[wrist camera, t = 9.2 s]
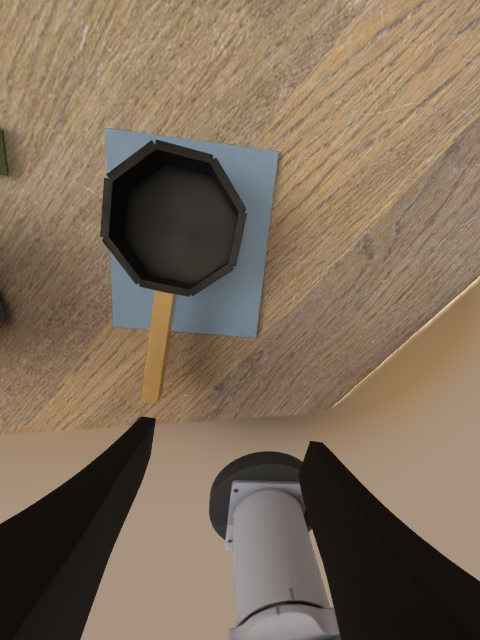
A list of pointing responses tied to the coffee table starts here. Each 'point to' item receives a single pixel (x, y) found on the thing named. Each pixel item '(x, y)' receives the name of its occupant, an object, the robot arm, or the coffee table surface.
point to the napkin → (247, 276)
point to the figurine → (1, 314)
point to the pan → (170, 233)
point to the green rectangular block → (2, 156)
